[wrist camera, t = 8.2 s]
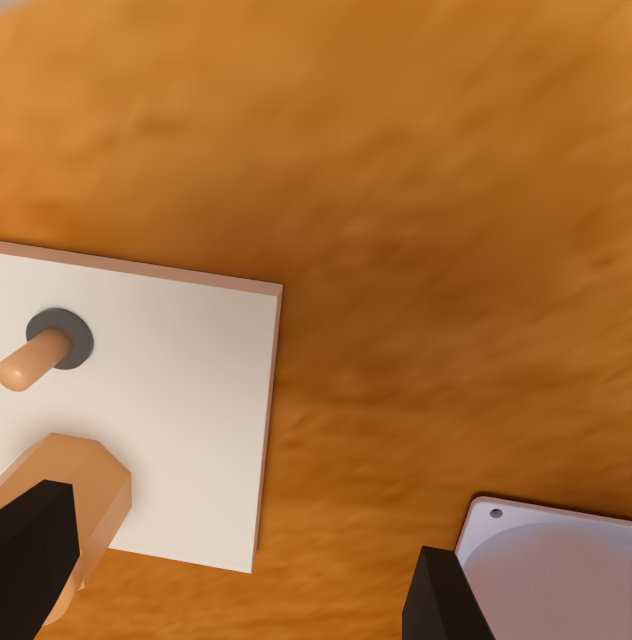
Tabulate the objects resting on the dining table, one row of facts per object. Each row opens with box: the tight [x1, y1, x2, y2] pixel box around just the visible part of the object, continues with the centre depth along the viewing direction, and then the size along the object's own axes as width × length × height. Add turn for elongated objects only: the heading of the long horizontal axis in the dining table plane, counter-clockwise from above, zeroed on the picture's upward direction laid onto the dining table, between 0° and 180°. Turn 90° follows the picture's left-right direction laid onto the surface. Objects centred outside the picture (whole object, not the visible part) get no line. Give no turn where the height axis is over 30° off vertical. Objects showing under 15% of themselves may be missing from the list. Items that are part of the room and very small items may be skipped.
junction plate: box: [0, 241, 283, 573], centre depth 20 cm, size 16×14×4 cm
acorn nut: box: [0, 432, 132, 626], centre depth 19 cm, size 5×5×6 cm
